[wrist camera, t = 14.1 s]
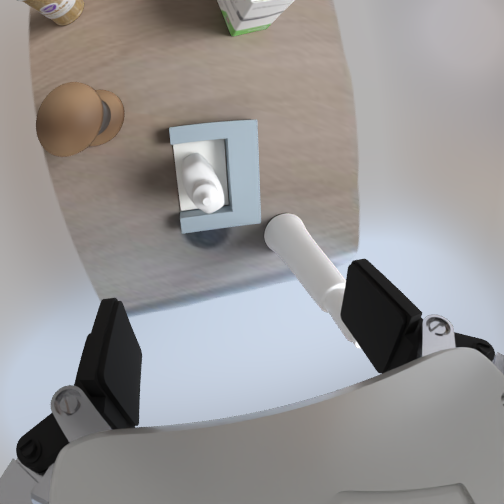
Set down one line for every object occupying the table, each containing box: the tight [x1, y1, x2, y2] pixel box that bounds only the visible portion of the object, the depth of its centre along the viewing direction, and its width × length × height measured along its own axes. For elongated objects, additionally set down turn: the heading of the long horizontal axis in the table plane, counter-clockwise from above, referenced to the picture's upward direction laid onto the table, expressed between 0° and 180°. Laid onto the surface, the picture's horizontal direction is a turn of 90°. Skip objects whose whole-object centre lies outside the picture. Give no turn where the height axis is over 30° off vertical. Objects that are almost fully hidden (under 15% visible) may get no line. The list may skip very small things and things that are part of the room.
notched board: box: [169, 120, 261, 234], centre depth 33 cm, size 13×10×2 cm
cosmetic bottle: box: [264, 213, 361, 348], centre depth 30 cm, size 6×6×22 cm
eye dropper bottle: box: [182, 153, 224, 214], centre depth 28 cm, size 4×6×12 cm
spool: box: [36, 82, 124, 157], centre depth 23 cm, size 7×7×10 cm
